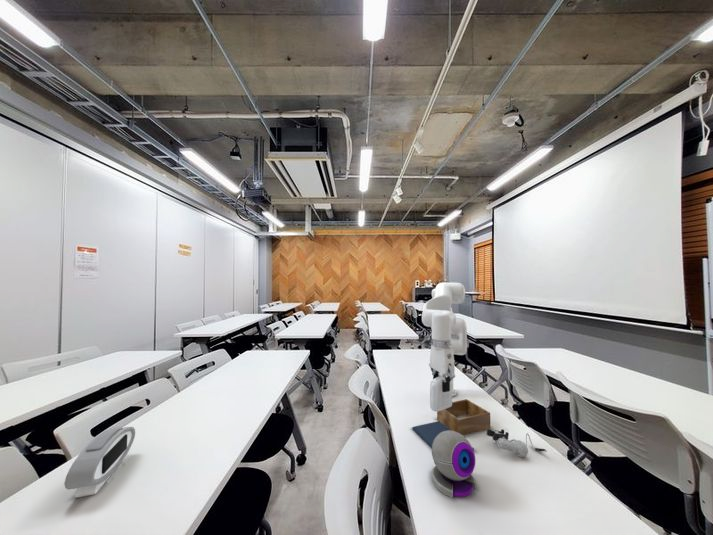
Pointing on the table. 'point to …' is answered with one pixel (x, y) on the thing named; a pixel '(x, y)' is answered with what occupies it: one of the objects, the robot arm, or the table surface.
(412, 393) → the table surface
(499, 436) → the clip-on lamp
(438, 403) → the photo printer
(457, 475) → the webcam
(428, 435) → the mat
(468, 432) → the wooden box
